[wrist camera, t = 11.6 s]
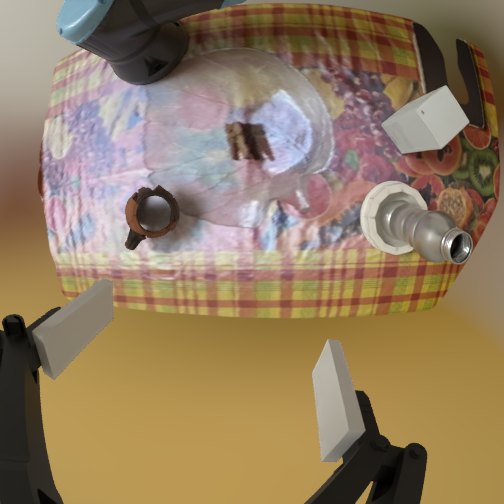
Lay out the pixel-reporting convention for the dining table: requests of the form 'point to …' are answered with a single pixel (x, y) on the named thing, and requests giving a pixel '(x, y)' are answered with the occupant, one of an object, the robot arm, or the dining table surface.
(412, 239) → the plastic bottle
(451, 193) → the dining table surface
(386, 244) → the bowl
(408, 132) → the small box
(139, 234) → the broken clay pot
